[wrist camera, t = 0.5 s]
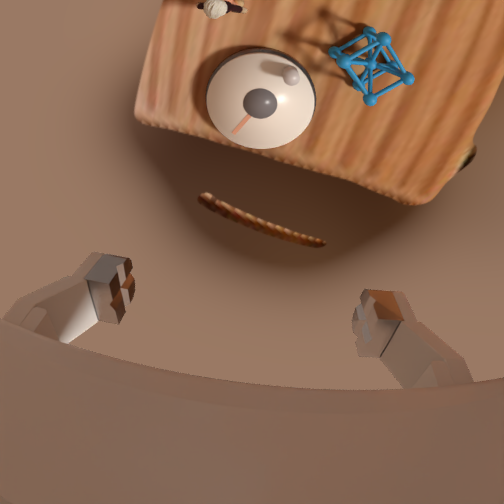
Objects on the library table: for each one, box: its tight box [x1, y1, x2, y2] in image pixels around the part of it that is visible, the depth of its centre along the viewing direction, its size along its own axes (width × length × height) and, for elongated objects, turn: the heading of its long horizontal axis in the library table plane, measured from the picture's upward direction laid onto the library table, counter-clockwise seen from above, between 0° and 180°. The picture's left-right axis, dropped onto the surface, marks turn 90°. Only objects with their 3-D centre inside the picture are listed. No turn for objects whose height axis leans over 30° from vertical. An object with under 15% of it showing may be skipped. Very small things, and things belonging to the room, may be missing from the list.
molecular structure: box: [328, 26, 414, 106], centre depth 39 cm, size 10×10×10 cm
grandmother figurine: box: [196, 0, 247, 19], centre depth 33 cm, size 8×4×13 cm, turn 90°
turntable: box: [207, 52, 314, 149], centre depth 48 cm, size 19×19×6 cm
